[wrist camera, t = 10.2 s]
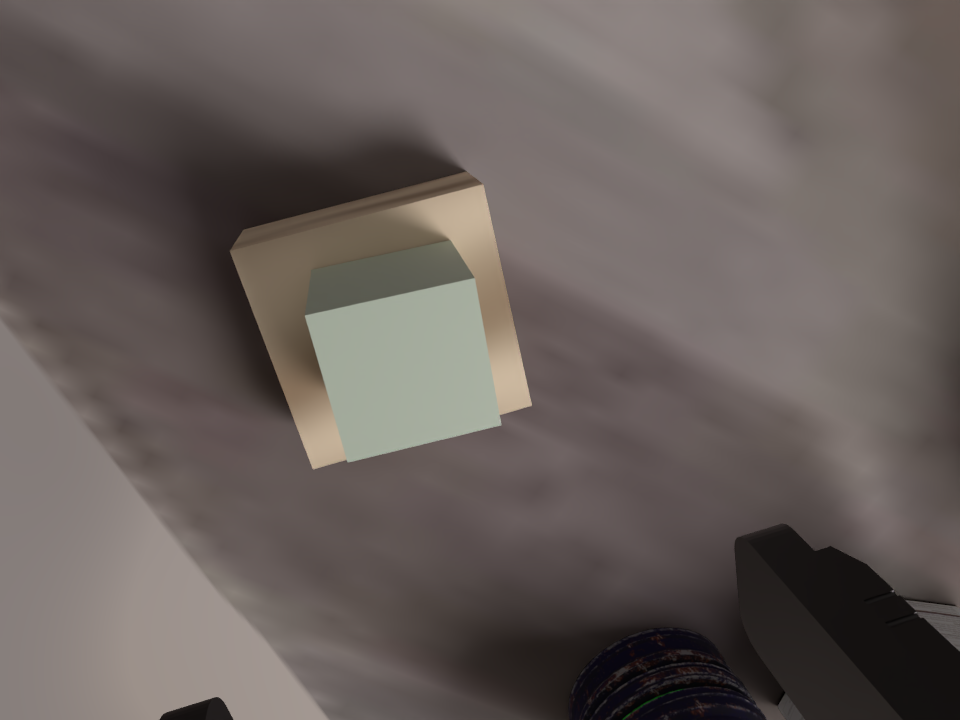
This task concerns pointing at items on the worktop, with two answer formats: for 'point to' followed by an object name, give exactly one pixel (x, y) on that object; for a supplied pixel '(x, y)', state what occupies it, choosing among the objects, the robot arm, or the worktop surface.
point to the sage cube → (402, 349)
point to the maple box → (357, 235)
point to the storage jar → (661, 681)
